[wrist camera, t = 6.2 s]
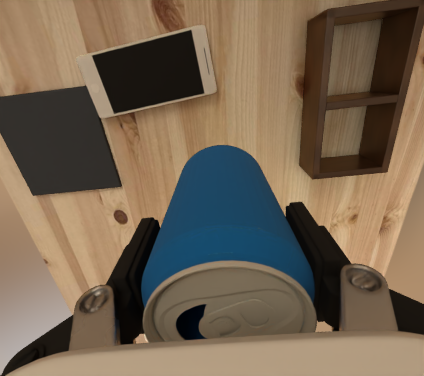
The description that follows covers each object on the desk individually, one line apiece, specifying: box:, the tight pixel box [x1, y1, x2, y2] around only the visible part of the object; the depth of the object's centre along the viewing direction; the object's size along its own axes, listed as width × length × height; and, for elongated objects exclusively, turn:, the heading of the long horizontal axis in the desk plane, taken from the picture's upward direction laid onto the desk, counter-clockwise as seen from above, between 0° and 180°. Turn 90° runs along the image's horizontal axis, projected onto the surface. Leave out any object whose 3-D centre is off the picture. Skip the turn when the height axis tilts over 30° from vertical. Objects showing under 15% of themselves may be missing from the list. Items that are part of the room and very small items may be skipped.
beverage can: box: [141, 145, 317, 343], centre depth 13 cm, size 6×6×12 cm
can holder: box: [299, 0, 424, 179], centre depth 26 cm, size 17×9×5 cm, turn 7°
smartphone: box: [76, 25, 217, 118], centre depth 27 cm, size 7×16×1 cm, turn 102°
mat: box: [0, 86, 122, 196], centre depth 32 cm, size 14×14×1 cm
